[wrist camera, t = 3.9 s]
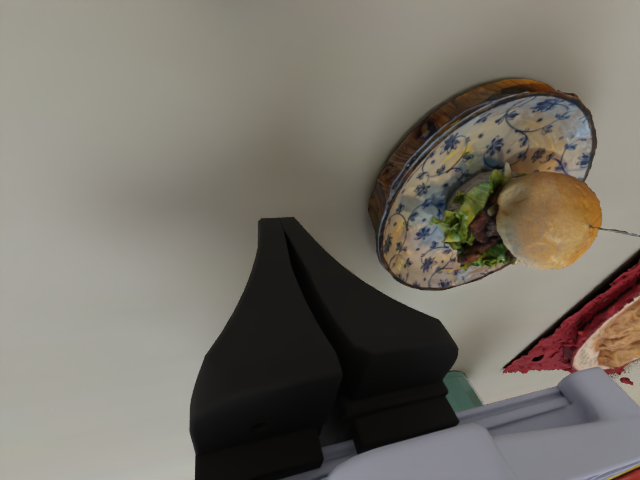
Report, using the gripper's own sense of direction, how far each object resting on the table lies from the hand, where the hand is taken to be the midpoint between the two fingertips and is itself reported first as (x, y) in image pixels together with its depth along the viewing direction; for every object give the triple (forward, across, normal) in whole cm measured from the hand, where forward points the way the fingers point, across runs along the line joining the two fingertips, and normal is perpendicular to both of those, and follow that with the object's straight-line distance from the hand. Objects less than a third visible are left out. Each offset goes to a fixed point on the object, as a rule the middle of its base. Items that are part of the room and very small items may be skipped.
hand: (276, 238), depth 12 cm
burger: (+3, -11, 0) cm, 12 cm away
